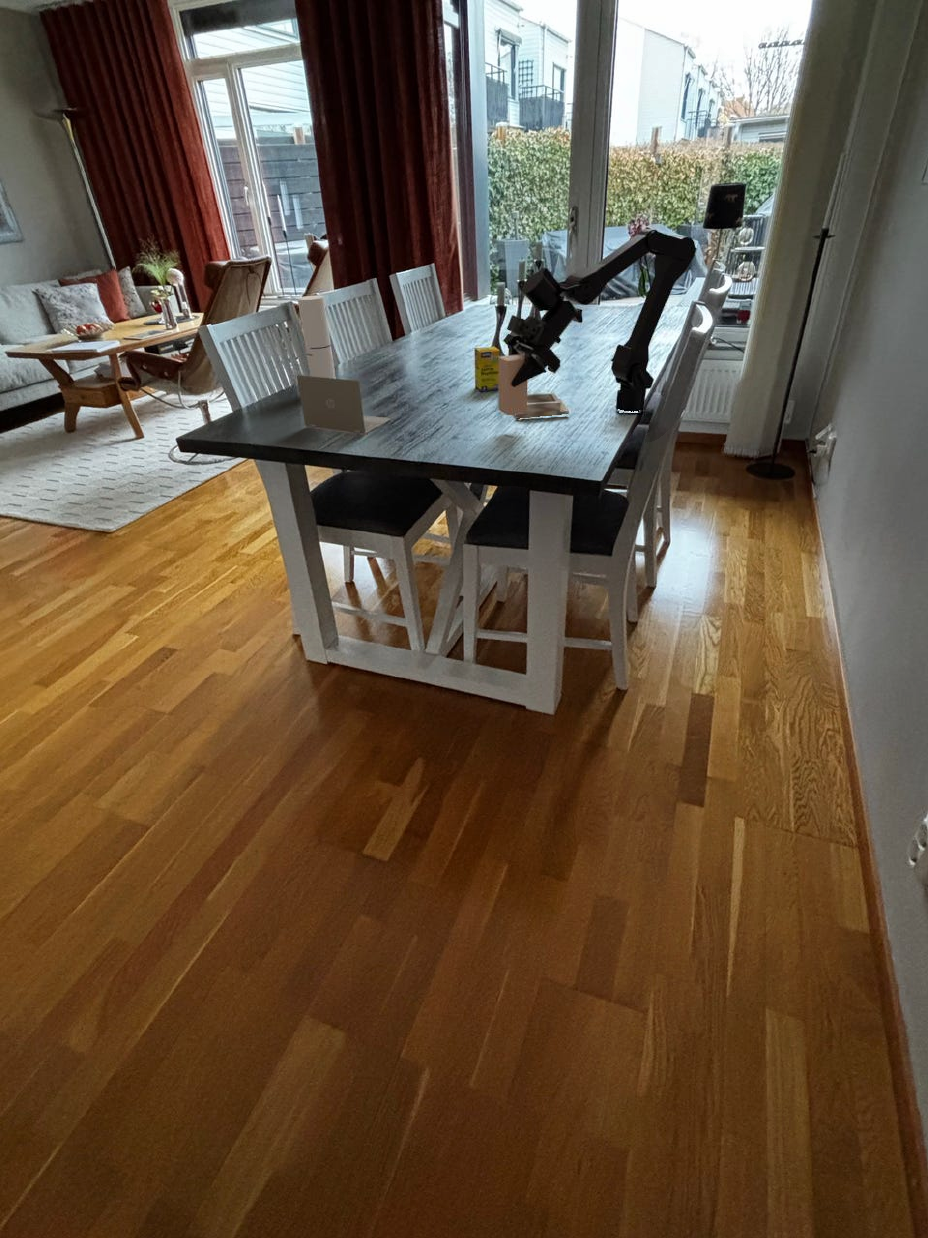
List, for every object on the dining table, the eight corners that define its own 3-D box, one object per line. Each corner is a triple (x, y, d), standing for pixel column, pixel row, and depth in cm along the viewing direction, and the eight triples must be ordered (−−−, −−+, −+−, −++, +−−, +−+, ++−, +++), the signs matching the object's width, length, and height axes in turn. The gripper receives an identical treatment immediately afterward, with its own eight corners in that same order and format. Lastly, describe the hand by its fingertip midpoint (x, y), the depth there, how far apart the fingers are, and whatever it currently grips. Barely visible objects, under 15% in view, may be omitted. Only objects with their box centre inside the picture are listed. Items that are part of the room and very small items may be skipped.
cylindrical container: (332, 394, 185) (317, 299, 171) (309, 394, 187) (293, 299, 172) (340, 387, 191) (327, 295, 177) (318, 387, 192) (303, 295, 178)
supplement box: (480, 392, 181) (479, 352, 175) (474, 387, 186) (473, 347, 180) (500, 390, 183) (500, 350, 176) (494, 385, 187) (493, 345, 181)
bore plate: (560, 404, 169) (560, 390, 167) (568, 417, 160) (569, 402, 158) (511, 407, 169) (511, 393, 167) (517, 420, 160) (517, 405, 158)
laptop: (391, 421, 164) (386, 368, 156) (365, 436, 154) (358, 381, 147) (334, 414, 170) (326, 363, 163) (305, 428, 161) (295, 375, 154)
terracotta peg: (517, 406, 153) (518, 353, 146) (526, 412, 149) (527, 358, 143) (498, 409, 152) (498, 356, 145) (507, 415, 148) (507, 361, 141)
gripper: (511, 294, 146) (468, 351, 149) (550, 306, 131) (501, 368, 134) (540, 328, 152) (499, 382, 156) (580, 342, 138) (534, 401, 141)
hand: (507, 382), depth 147 cm, fingers closed on terracotta peg, 5 cm apart
